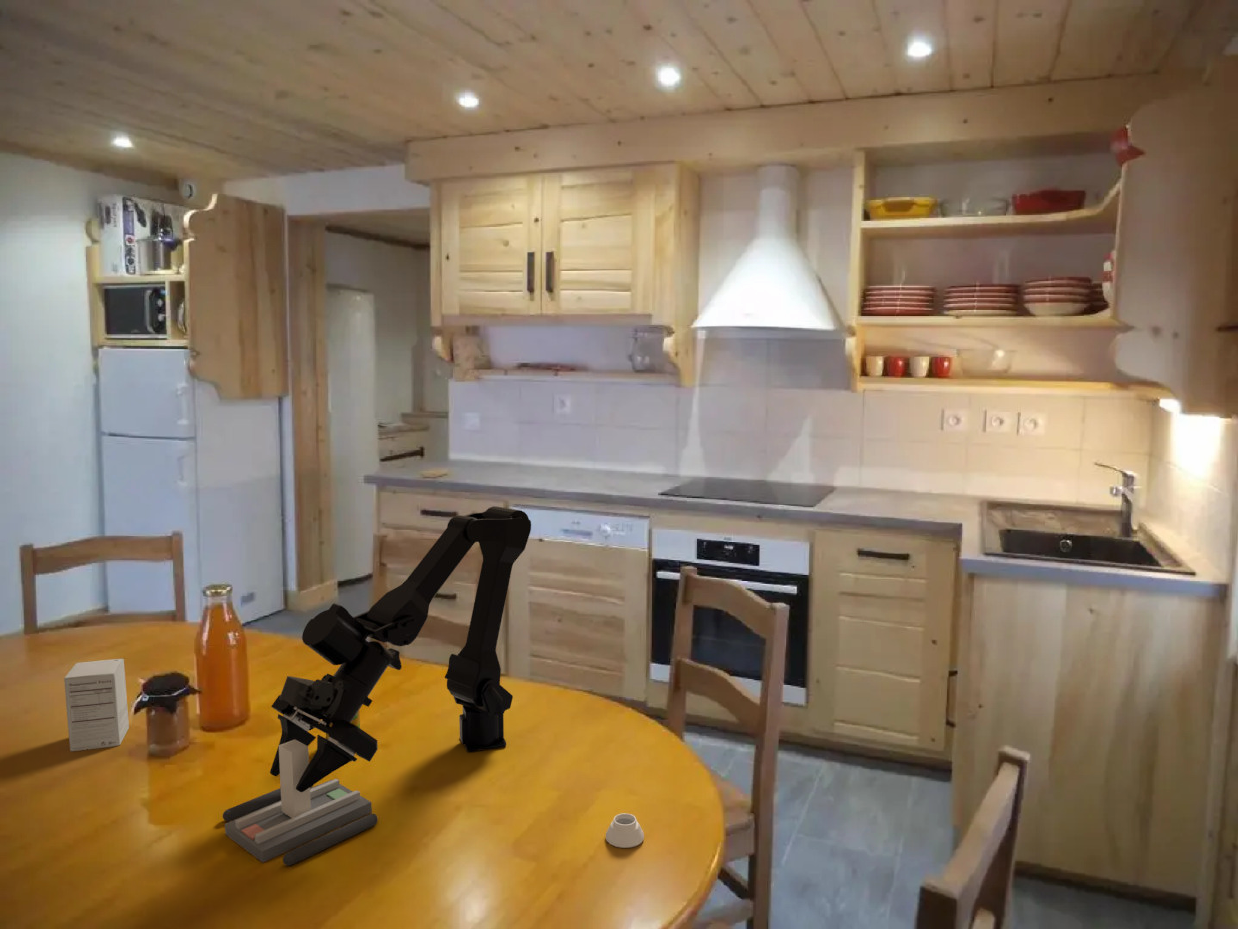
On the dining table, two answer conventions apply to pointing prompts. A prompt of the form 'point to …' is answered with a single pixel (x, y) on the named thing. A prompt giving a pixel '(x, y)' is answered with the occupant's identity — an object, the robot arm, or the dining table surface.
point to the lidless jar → (624, 831)
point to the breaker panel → (297, 821)
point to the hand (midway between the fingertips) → (285, 783)
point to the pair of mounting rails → (312, 846)
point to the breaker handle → (293, 778)
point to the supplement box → (96, 704)
